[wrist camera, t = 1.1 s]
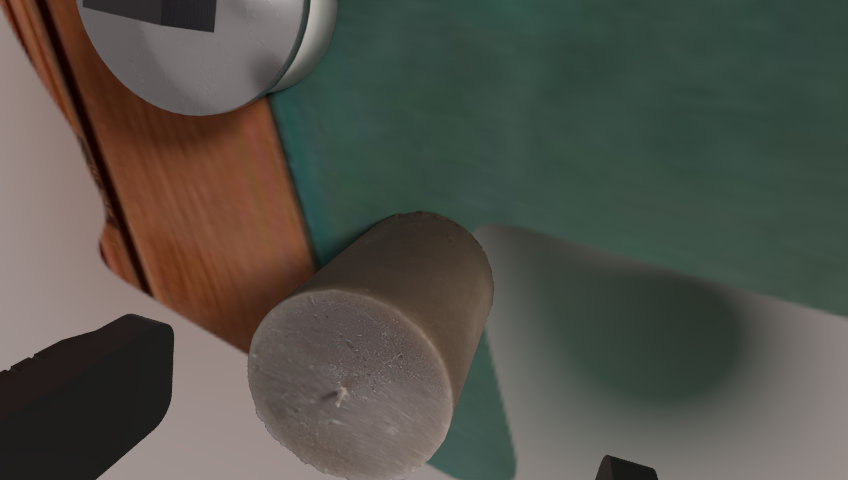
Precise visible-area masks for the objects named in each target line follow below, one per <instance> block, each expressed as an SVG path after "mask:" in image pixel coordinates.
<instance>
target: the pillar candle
mask: <svg viewBox="0 0 848 480" xmlns="http://www.w3.org/2000/svg"><path fill="white" fill-rule="evenodd" d="M493 294H494V284H493V278H492V271H491V267H490V264H489V262H488V259H487V256H486V254H485V252H484V251H483V250H482V247H481V246H480V244H479V243H478V242H477V240H476V239H475V238H474V237H473V236H472V235H471V234H470V233H468V232H467V230H465V228H463V227H462V226H461V225H459V224H457V223H456V222H454V221H453V220H451V219H448V218H446V217H444V216H441V215H438V214H435V213H431V212H426V211H417V212H415V213H408V214H402V213H399V214H395V215H392V216H390V217H388V218H386V219H384V220H382V221H380V222H379V223H377V224H376V225H375V226H373V227H372V228H371V229H370V230H369V231H367V232H366V233H365V234H363V235H362V236H361V237H360V238H358V239H357V240H356V241H355V242H354V243H352V244H351V245H350V246H349V247H347V248H346V249H345V250H344V251H342V252H341V253H340V254H339V255H337V256H336V257H335V258H334V259H333V260H331V261H330V262H329V263H328V264H327V265H325V266H324V267H323V268H322V269H320V270H319V271H318V272H317V273H315V274H314V275H313V276H312V277H310V278H309V279H308V280H307V281H306V282H304V283H303V284H302V285H301V286H299V287H298V288H297V289H295V290H294V291H293V292H292V293H291V294H289V295H288V296H287V297H286V298H284V299H283V300H282V301H280V302H279V303H278V304H277V305H276V306H275V307H273V308H272V309H271V310H270V311H269V312H268V313H267V315H266V316H265V317H264V318H263V320H262V321H261V322H260V324H259V326H258V328H257V330H256V332H255V333H254V335H253V338H252V340H251V345H250V351H249V356H248V381H249V387H250V390H251V393H252V397H253V400H254V403H255V406H256V414H257V416H258V417H259V418H260V419H261V421H263V422H264V423H265V427H266V428H267V431H268V432H269V433H270V434H271V435H272V437H273V438H274V439H275V440H278V441H279V442H280V444H281V445H282V446H285V447H287V448H288V449H289V450H290V451H292V452H293V453H294V454H295V455H296V456H297V457H299V459H300V460H301V461H302V462H304V463H305V464H311V465H312V466H314V467H315V468H316V469H317V470H319V471H321V472H322V473H327V474H331V475H334V476H337V477H344V478H346V479H347V480H389V479H394V480H404V479H406V478H407V477H409V476H411V475H412V474H413V473H414V469H415V468H418V467H420V466H421V465H422V464H423V463H424V462H426V461H428V460H429V459H430V458H431V457H432V455H433V454H434V453H435V452H436V450H437V449H438V448H439V447H440V445H441V444H442V443H443V441H444V439H445V437H446V434H447V432H448V429H449V426H450V423H451V420H452V417H453V414H454V412H455V409H456V406H457V403H458V400H459V397H460V394H461V391H462V388H463V386H464V383H465V380H466V377H467V374H468V371H469V368H470V365H471V362H472V359H473V356H474V354H475V351H476V349H477V346H478V343H479V340H480V337H481V334H482V331H483V328H484V326H485V323H486V321H487V317H488V315H489V312H490V309H491V306H492V303H493Z"/></svg>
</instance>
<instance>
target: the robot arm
mask: <svg viewBox="0 0 848 480" xmlns="http://www.w3.org/2000/svg"><path fill="white" fill-rule="evenodd" d="M173 350H174V333H173V329H172V327H171V326H170V325H168V324H165V323H162V322H159V321H156V320H152V319H149V318H145V317H142V316H139V315H135V314H126V315H124V316H122V317H120V318H118V319H117V320H114V321H113V322H111V323H109V324H107V325H105V326H103V327H102V328H100V329H98V330H96V331H92V332H89V333H85V334H82V335H78V336H75V337H71V338H67V339H64V340H61V341H59V342H57V343H55V344H53V345H51V346H49V347H47V348H45V349H44V350H42V351H40V352H38V353H36V354H34V357H33V358H29V357H28V358H26V359H24V360H22V361H21V362H19V363H17V364H15V365H13V366H11V369H10V370H9V371H7V370H3V371H1V372H0V480H96V479H97V478H98V477H99V476H100V475H102V474H103V473H104V472H105V471H106V470H107V469H109V468H110V467H111V466H112V465H113V464H115V463H116V462H117V461H118V460H119V459H120V458H121V457H123V456H124V455H125V454H126V453H127V452H128V451H130V450H131V449H132V448H133V447H134V446H135V445H137V444H138V443H139V442H140V441H141V440H142V439H144V438H145V437H146V436H147V435H148V434H149V433H151V432H152V431H153V430H154V429H155V428H156V427H157V426H158V425H159V424H160V422H161V421H162V419H163V418H164V416H165V414H166V412H167V410H168V408H169V405H170V402H171V396H172V375H173V352H174V351H173ZM595 480H658V478H657V474H656V472H655V470H654V469H653V468H650V467H647V466H643V465H640V464H636V463H633V462H630V461H626V460H623V459H619V458H616V457H612V456H609V455H606V456H605V457H604V458H603V460H602V462H601V465H600V467H599V470H598V473H597V476H596V479H595Z"/></svg>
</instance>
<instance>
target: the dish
mask: <svg viewBox="0 0 848 480" xmlns="http://www.w3.org/2000/svg"><path fill="white" fill-rule="evenodd" d="M337 9H338V0H311V3H310V13H309V18H308V24H307V29H306V32H305V35H304V38H303V41H302V44H301V47H300V49H299V51H298V53H297V55H296V58H295V60H294V62H293V63H292V65H291V66H290V68H289V69H288V71H287V73H286V74H285V75H284V76H283V78H282V79H281V80H280V81H279V82H278V84H277V85H276V86H275V87H274V88H273V89H271V90H270V91H269V92H268V93H271V92H277V91H280V90H284V89H286V88H289V87H291V86H293V85H295V84H296V83H298V82H300V81H301V80H303V79H304V78H305V77H306V76H307V75H309V74H310V73H311V72H312V71H313V70H314V68H315V67H316V66H317V65H318V64H319V62H320V61H321V59H322V58H323V56H324V55H325V53H326V51H327V49H328V47H329V45H330V42H331V39H332V36H333V33H334V29H335V25H336V20H337Z"/></svg>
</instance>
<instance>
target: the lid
mask: <svg viewBox="0 0 848 480" xmlns="http://www.w3.org/2000/svg"><path fill="white" fill-rule="evenodd" d="M76 3H77V7H78V11H79V14H80V16H81V19H82V22H83V25H84V28H85V30H86V32H87V34H88V36H89V38H90V40H91V42H92V44H93V46H94V48H95V49H96V51H97V53H98V54H99V56H100V58H101V59H102V60H103V62H104V63H105V64H106V66H107V67H108V68H109V70H110V71H111V72H112V73H113V74H114V75H115V76H116V77H117V78H118V79H119V80H120V82H121V83H123V84H124V85H125V86H126V87H127V88H128V89H130V90H131V91H132V92H133V93H135V94H136V95H138V96H139V97H141V98H142V99H144V100H145V101H147V102H149V103H151V104H153V105H155V106H157V107H159V108H161V109H164V110H167V111H170V112H173V113H178V114H184V115H195V116H204V115H214V114H222V113H228V112H232V111H236V110H239V109H242V108H244V107H246V106H248V105H250V104H253V103H254V102H256V101H257V100H259V99H260V98H262V97H263V96H265V95H266V94H267V93H268V92H269V91H270V90H271V89H273V88H274V87H275V86H276V85H277V84H278V82H279V81H280V80H281V79H282V78H283V76H284V75H285V74H286V73H287V71H288V69H289V68H290V66H291V65H292V63H293V62H294V60H295V58H296V55H297V53H298V51H299V49H300V47H301V44H302V41H303V38H304V35H305V32H306V29H307V24H308V18H309V13H310V3H311V0H76Z"/></svg>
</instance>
